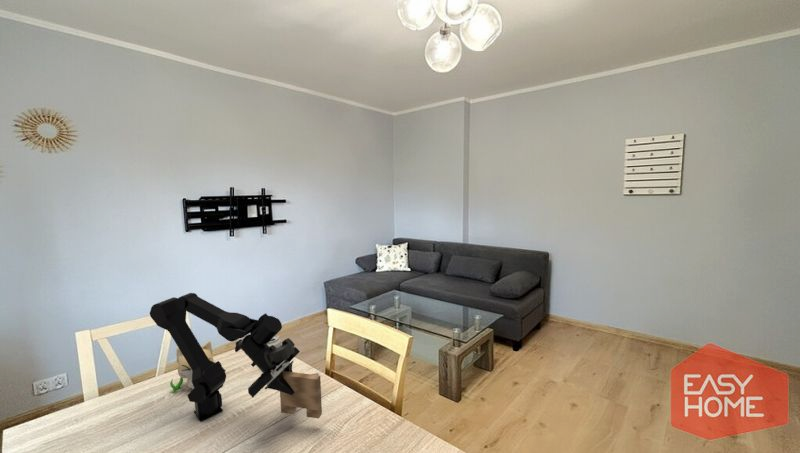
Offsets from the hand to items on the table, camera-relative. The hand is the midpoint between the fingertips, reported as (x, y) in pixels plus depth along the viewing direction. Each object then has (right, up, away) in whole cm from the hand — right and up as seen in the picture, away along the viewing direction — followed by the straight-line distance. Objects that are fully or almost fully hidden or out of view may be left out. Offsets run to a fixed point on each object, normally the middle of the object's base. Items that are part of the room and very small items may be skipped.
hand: (295, 391), depth 95 cm
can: (-20, -7, +34) cm, 40 cm away
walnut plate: (+2, -7, +1) cm, 7 cm away
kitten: (-43, -9, +22) cm, 49 cm away
